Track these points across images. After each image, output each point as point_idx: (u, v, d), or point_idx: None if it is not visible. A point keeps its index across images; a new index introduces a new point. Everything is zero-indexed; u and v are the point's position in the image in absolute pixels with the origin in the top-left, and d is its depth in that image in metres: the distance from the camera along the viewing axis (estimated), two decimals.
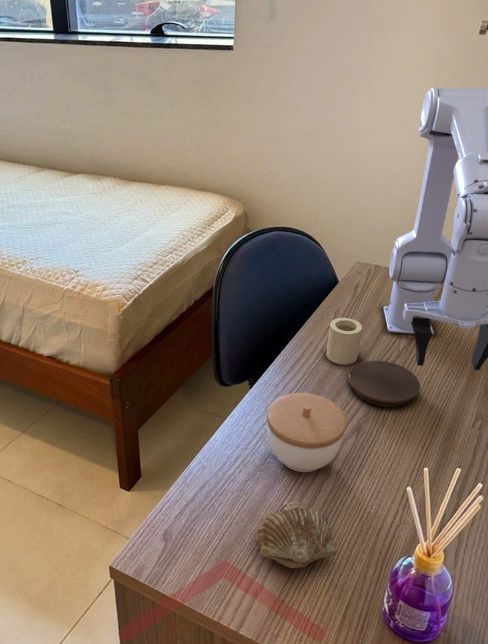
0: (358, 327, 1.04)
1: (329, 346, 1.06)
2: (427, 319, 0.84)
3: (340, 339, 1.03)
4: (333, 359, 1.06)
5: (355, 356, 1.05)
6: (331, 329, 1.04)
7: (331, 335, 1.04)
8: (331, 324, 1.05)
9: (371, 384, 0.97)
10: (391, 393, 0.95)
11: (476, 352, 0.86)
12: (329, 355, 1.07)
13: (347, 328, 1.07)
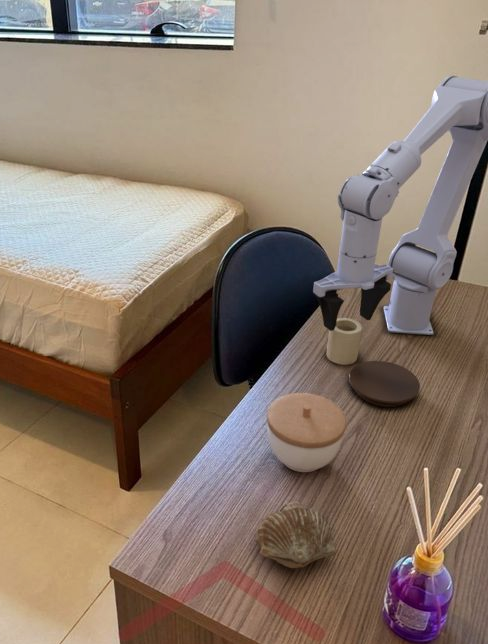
0: (358, 327, 1.04)
1: (329, 346, 1.06)
2: (334, 290, 0.98)
3: (340, 339, 1.03)
4: (333, 359, 1.06)
5: (355, 356, 1.05)
6: None
7: (331, 335, 1.04)
8: None
9: (371, 384, 0.97)
10: (391, 393, 0.95)
11: (364, 306, 1.04)
12: (329, 355, 1.07)
13: (347, 328, 1.07)
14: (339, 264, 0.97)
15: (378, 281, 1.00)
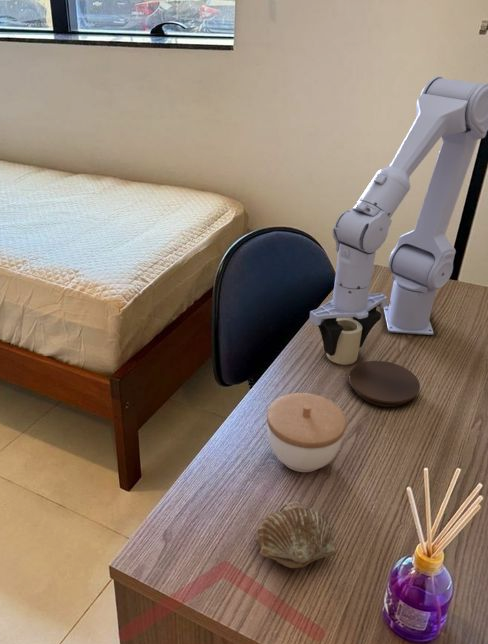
0: (358, 327, 1.04)
1: None
2: (329, 319, 1.01)
3: (340, 339, 1.03)
4: (333, 359, 1.06)
5: (355, 356, 1.05)
6: None
7: None
8: None
9: (371, 384, 0.97)
10: (391, 393, 0.95)
11: None
12: (329, 355, 1.07)
13: (347, 328, 1.07)
14: (334, 294, 1.00)
15: (369, 310, 1.03)
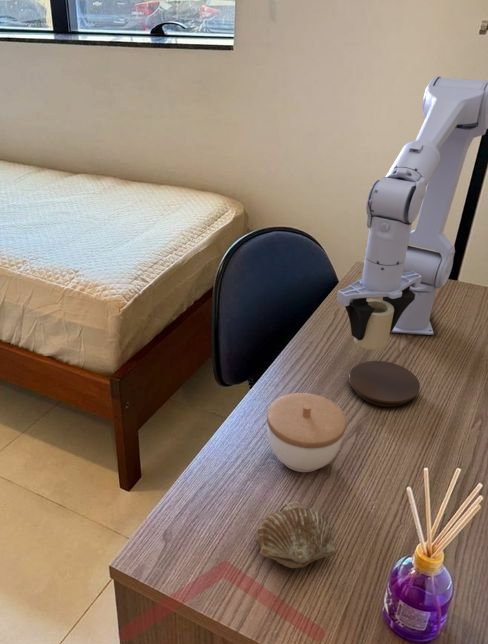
0: (389, 308, 0.95)
1: None
2: (359, 299, 0.92)
3: (370, 321, 0.94)
4: (361, 344, 0.97)
5: (386, 341, 0.97)
6: None
7: None
8: None
9: (371, 384, 0.97)
10: (391, 393, 0.95)
11: None
12: (357, 340, 0.98)
13: (377, 310, 0.98)
14: (365, 271, 0.92)
15: (401, 290, 0.95)
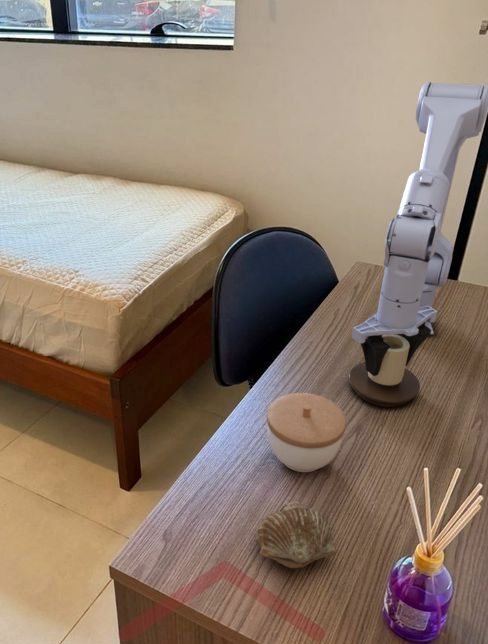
0: (405, 344, 0.93)
1: None
2: (374, 335, 0.91)
3: (385, 358, 0.93)
4: (376, 379, 0.96)
5: (401, 376, 0.95)
6: None
7: None
8: None
9: (371, 384, 0.97)
10: (391, 393, 0.95)
11: None
12: (372, 375, 0.96)
13: (391, 345, 0.97)
14: (380, 308, 0.90)
15: None
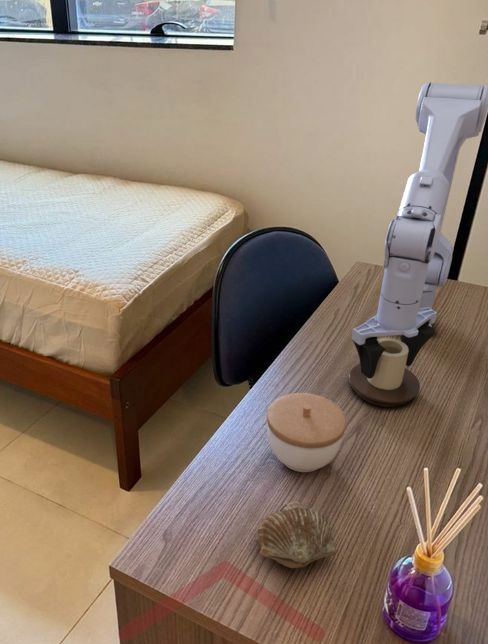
0: (404, 349, 0.94)
1: None
2: (374, 337, 0.91)
3: (384, 362, 0.93)
4: (375, 384, 0.96)
5: (400, 380, 0.96)
6: None
7: None
8: None
9: (371, 384, 0.97)
10: (391, 393, 0.95)
11: None
12: (371, 379, 0.97)
13: (390, 349, 0.97)
14: (380, 309, 0.91)
15: (420, 326, 0.94)
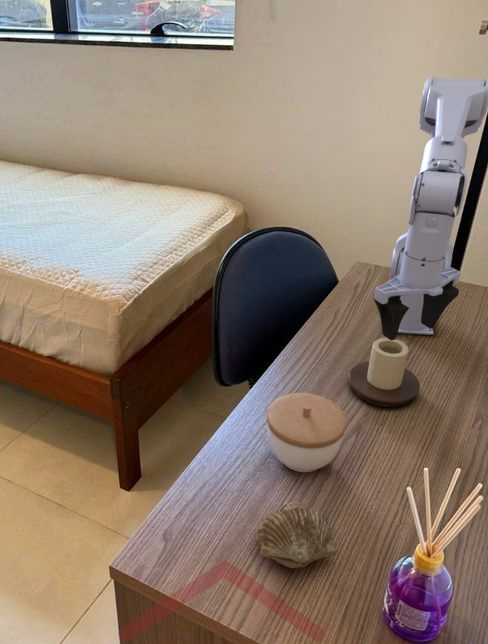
0: (404, 349, 0.94)
1: (371, 369, 0.96)
2: (397, 296, 0.89)
3: (384, 362, 0.93)
4: (375, 384, 0.96)
5: (400, 380, 0.96)
6: (374, 351, 0.94)
7: (374, 357, 0.95)
8: (374, 345, 0.95)
9: (371, 384, 0.97)
10: (391, 393, 0.95)
11: (427, 313, 0.95)
12: (371, 379, 0.97)
13: (390, 349, 0.97)
14: (403, 268, 0.89)
15: (444, 286, 0.92)
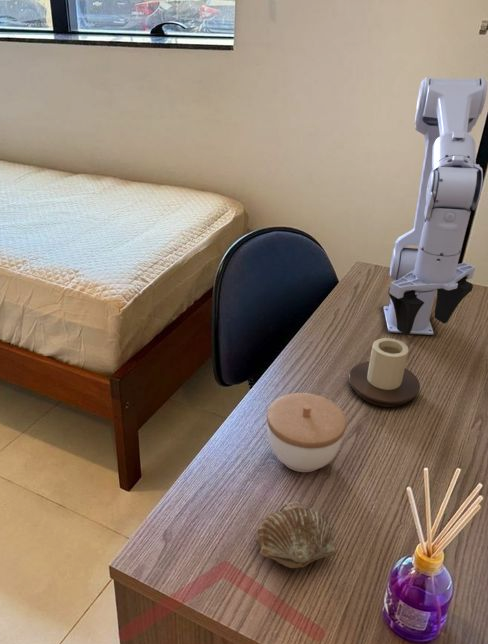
0: (404, 349, 0.94)
1: (371, 369, 0.96)
2: (412, 291, 0.90)
3: (384, 362, 0.93)
4: (375, 384, 0.96)
5: (400, 380, 0.96)
6: (374, 351, 0.94)
7: (374, 357, 0.95)
8: (374, 345, 0.95)
9: (371, 384, 0.97)
10: (391, 393, 0.95)
11: (440, 308, 0.96)
12: (371, 379, 0.97)
13: (390, 349, 0.97)
14: (418, 263, 0.90)
15: (458, 281, 0.93)
